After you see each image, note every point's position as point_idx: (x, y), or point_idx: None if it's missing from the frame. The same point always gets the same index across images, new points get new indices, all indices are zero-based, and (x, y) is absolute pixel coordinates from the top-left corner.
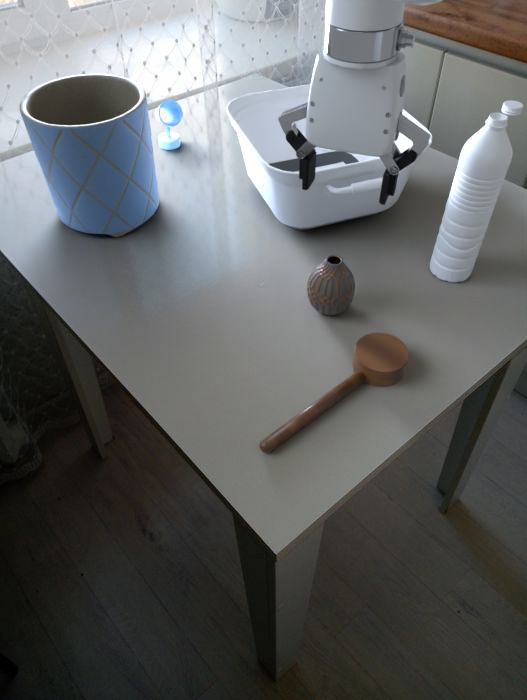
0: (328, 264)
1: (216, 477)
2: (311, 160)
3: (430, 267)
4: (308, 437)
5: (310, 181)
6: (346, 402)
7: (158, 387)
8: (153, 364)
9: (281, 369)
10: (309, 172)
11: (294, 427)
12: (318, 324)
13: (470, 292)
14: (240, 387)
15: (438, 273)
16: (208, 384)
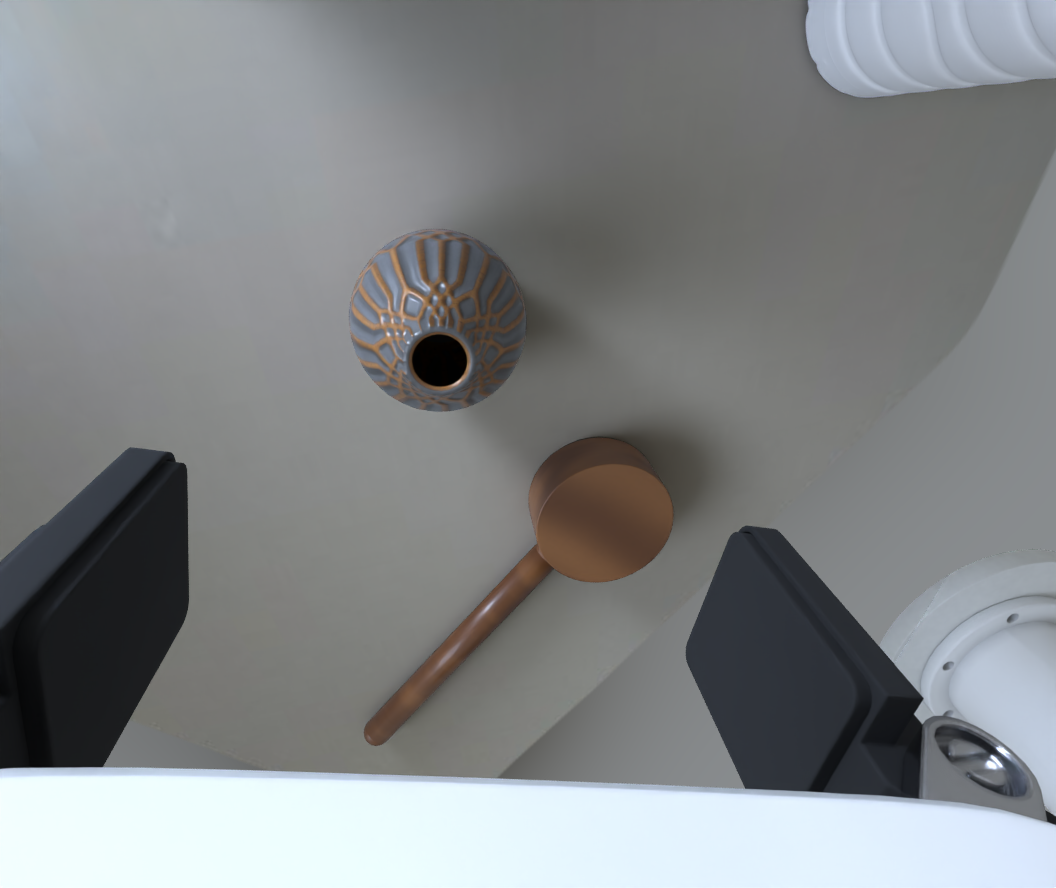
0: (420, 390)
1: None
2: (70, 757)
3: (810, 21)
4: (453, 682)
5: (171, 590)
6: None
7: None
8: None
9: (354, 552)
10: (126, 700)
11: (423, 701)
12: None
13: (908, 141)
14: (273, 617)
15: (831, 73)
16: (192, 626)
